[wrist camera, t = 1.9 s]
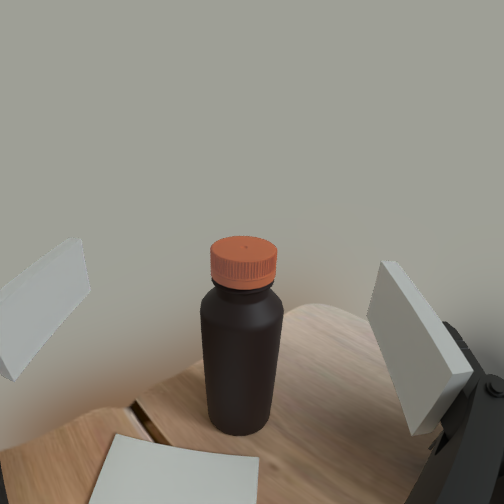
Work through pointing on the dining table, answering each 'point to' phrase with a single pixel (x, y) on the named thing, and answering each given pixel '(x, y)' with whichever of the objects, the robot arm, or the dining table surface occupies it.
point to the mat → (173, 476)
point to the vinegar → (241, 334)
